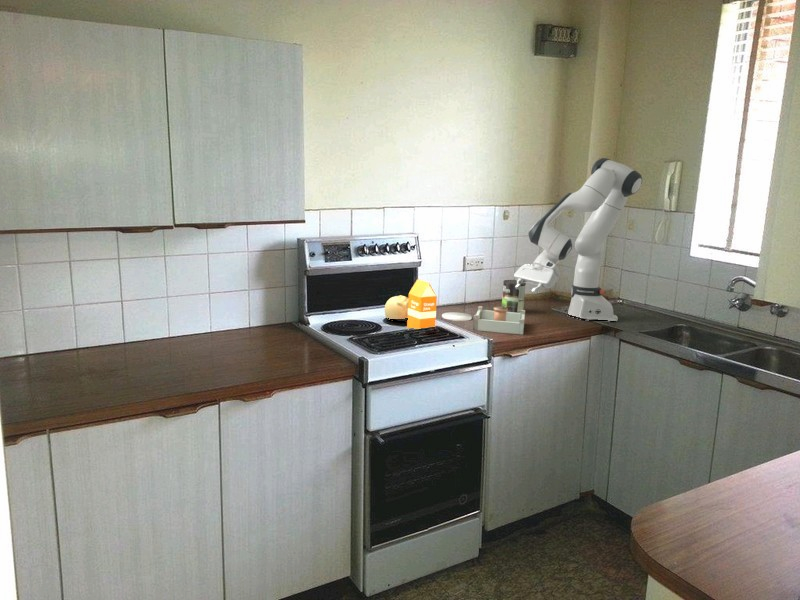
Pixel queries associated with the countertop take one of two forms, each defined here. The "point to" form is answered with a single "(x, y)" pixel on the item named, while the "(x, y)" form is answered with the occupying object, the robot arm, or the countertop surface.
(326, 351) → the countertop surface
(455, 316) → the saucer
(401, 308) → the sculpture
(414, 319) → the orange juice
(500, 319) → the terracotta pot
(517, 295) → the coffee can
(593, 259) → the robot arm
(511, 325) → the green tray
